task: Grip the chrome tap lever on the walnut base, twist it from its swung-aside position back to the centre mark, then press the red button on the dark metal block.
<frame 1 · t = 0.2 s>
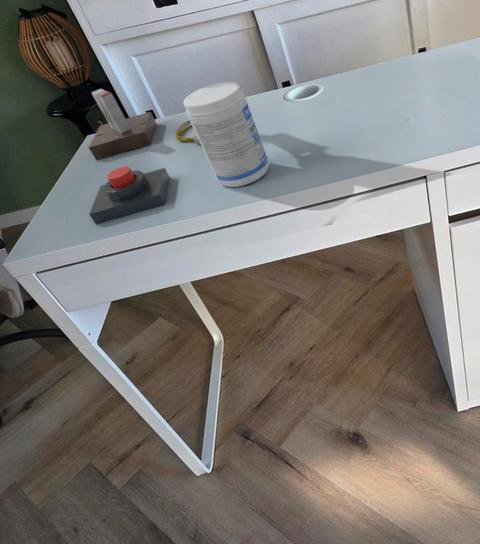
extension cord: (205, 134, 104), on the table
tap lever: (111, 110, 104), point 7 cm above the table, hinge at -60.0°
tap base: (127, 141, 109), on the table
red button: (121, 177, 84), point 5 cm above the table, slide at 0.1 cm
button block: (134, 200, 87), on the table
supplement tub: (244, 175, 86), on the table
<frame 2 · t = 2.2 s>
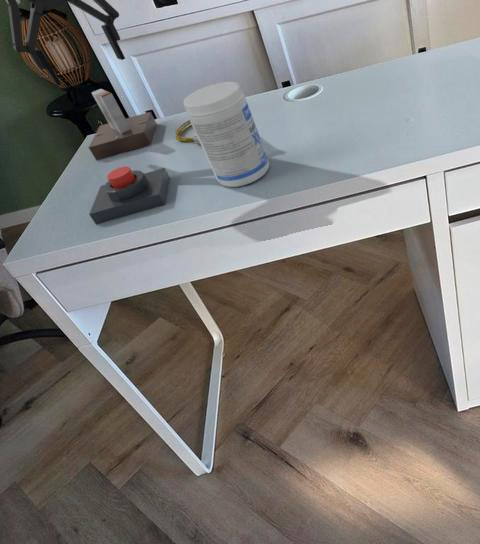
hand: (90, 71, 100), 15 cm above the table, tool pointing down, fingers open, 13 cm apart
nothing on the table moved.
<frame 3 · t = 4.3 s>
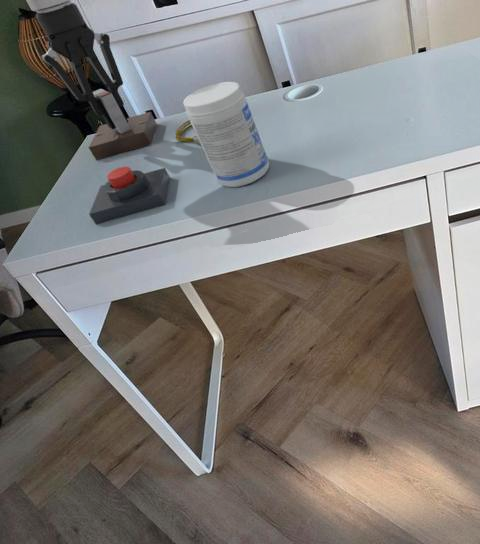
hand: (118, 124, 107), 4 cm above the table, tool pointing down, fingers closed on tap lever, 2 cm apart
tap lever: (111, 110, 104), point 7 cm above the table, hinge at -60.0°, touching gripper
everything else where it was.
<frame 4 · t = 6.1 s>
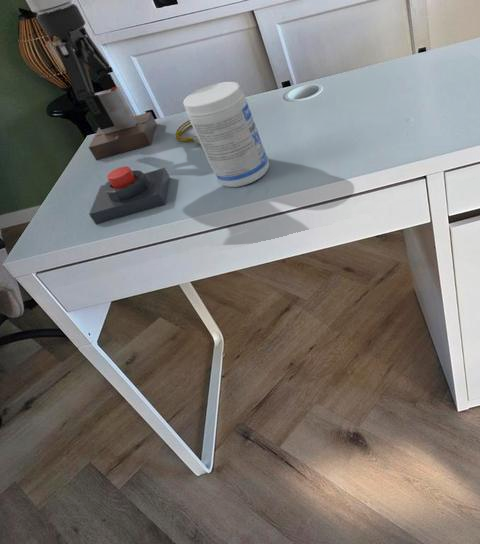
hand: (113, 115, 105), 6 cm above the table, tool pointing down, fingers open, 13 cm apart
tap lever: (111, 110, 104), point 7 cm above the table, hinge at -0.6°
everything else where it was.
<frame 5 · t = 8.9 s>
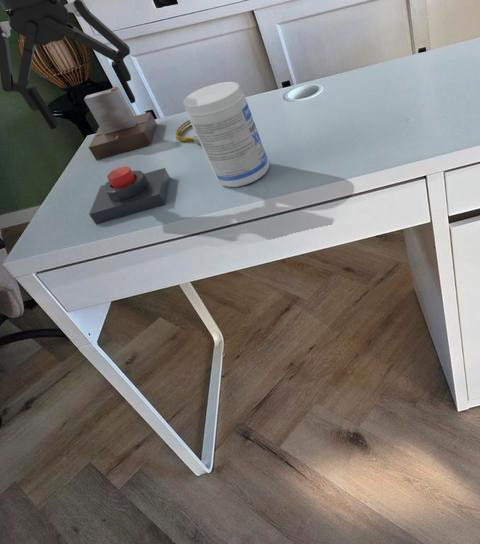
hand: (94, 113, 85), 13 cm above the table, tool pointing down, fingers open, 13 cm apart
nothing on the table moved.
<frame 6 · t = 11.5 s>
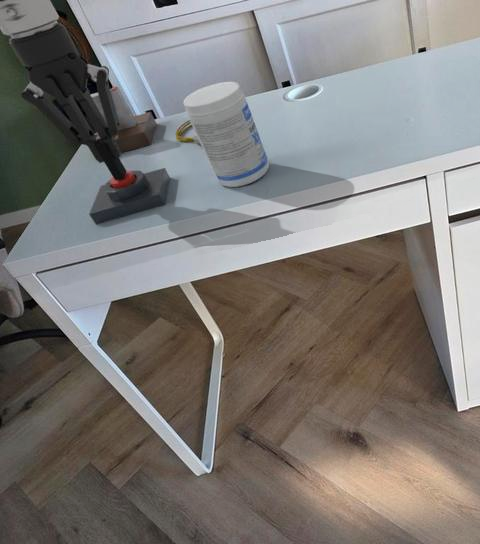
hand: (121, 175, 83), 5 cm above the table, tool pointing down, fingers closed
red button: (124, 182, 84), point 4 cm above the table, slide at -0.8 cm, touching gripper
everything else where it was.
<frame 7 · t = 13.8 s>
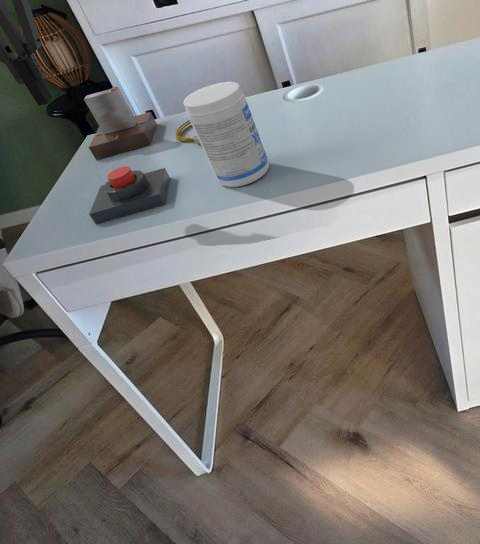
hand: (45, 101, 76), 19 cm above the table, tool pointing down, fingers closed
red button: (121, 177, 84), point 5 cm above the table, slide at 0.1 cm
everything else where it was.
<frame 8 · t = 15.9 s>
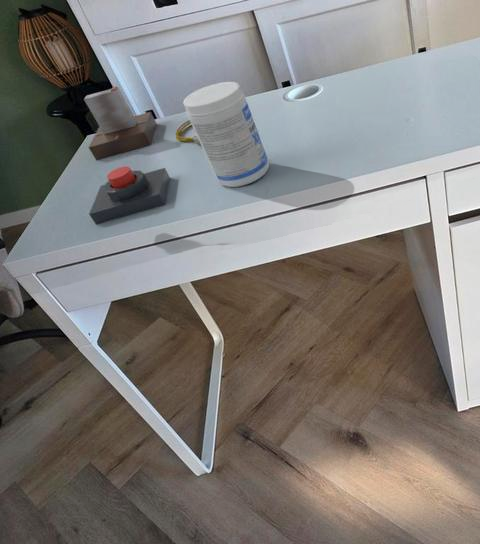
nothing on the table moved.
at the end: tap lever at -1° (first picture: -60°); red button pushed in 1.0 cm at the most during the clip, back to where it started at the end; red button slide at 0.1 cm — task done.
